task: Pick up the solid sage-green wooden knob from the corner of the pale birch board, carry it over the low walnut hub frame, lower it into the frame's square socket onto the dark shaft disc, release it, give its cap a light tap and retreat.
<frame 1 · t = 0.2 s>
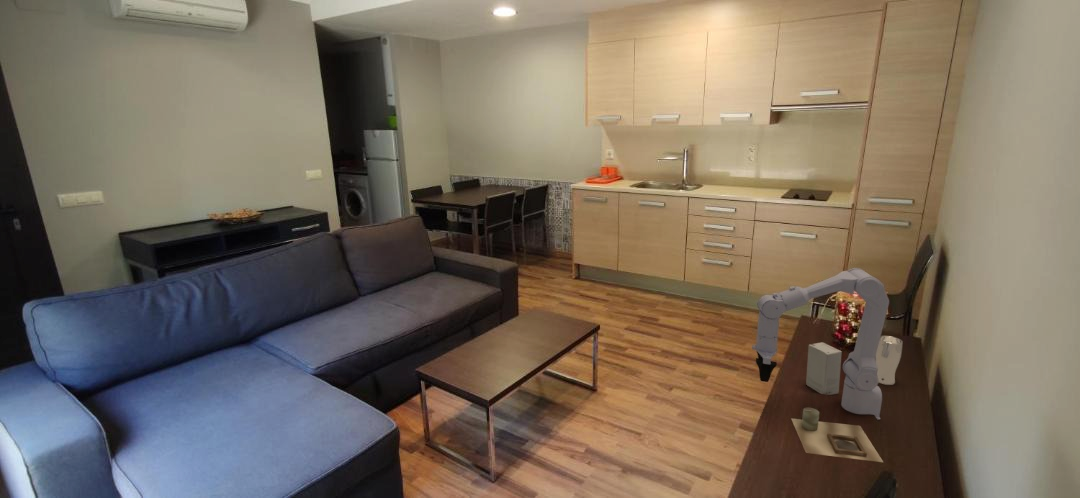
hand: (763, 375, 151), 10 cm above the table, tool pointing down, fingers open, 7 cm apart
skincare box: (820, 389, 161), on the table
board: (833, 442, 134), on the table
beer glass: (883, 381, 165), on the table
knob: (809, 426, 139), point 1 cm above the table, touching board
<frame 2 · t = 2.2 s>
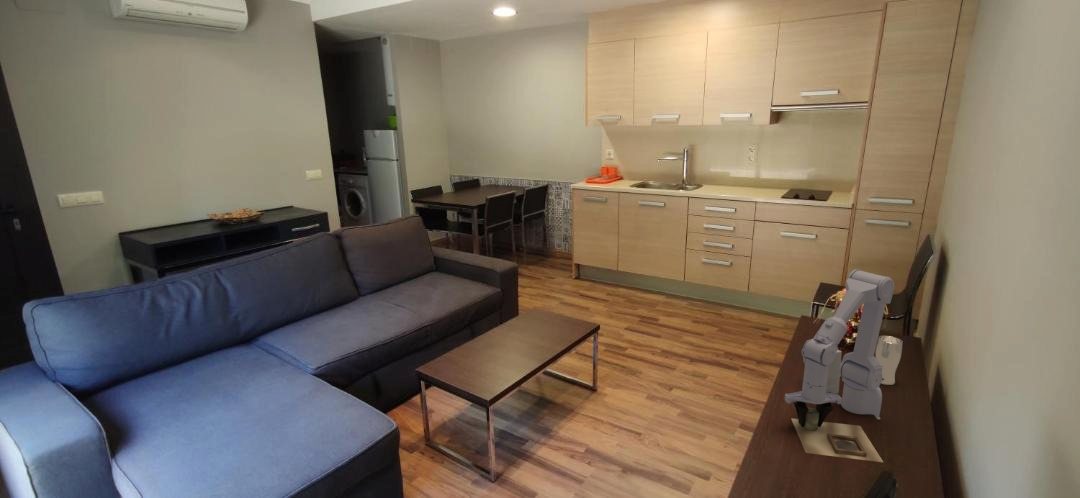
hand: (809, 424, 139), 2 cm above the table, tool pointing down, fingers closed on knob, 4 cm apart
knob: (809, 426, 139), point 1 cm above the table, touching board, gripper
everything else where it was.
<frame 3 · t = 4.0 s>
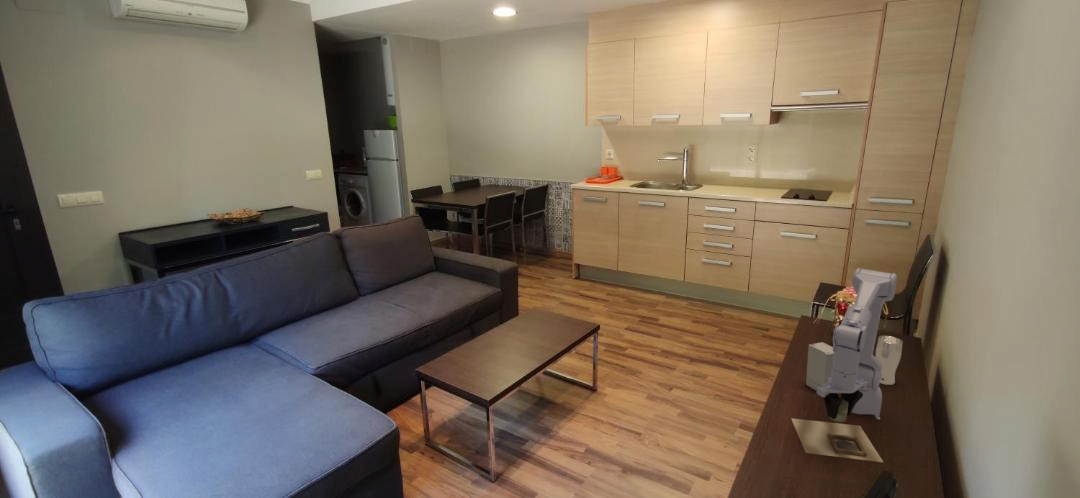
hand: (838, 415, 131), 9 cm above the table, tool pointing down, fingers closed on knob, 4 cm apart
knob: (837, 418, 131), point 8 cm above the table, touching gripper
everything else where it was.
when the fingers open (3 cm above the table, at t = 5.7 s): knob stays where it is, resting on board.
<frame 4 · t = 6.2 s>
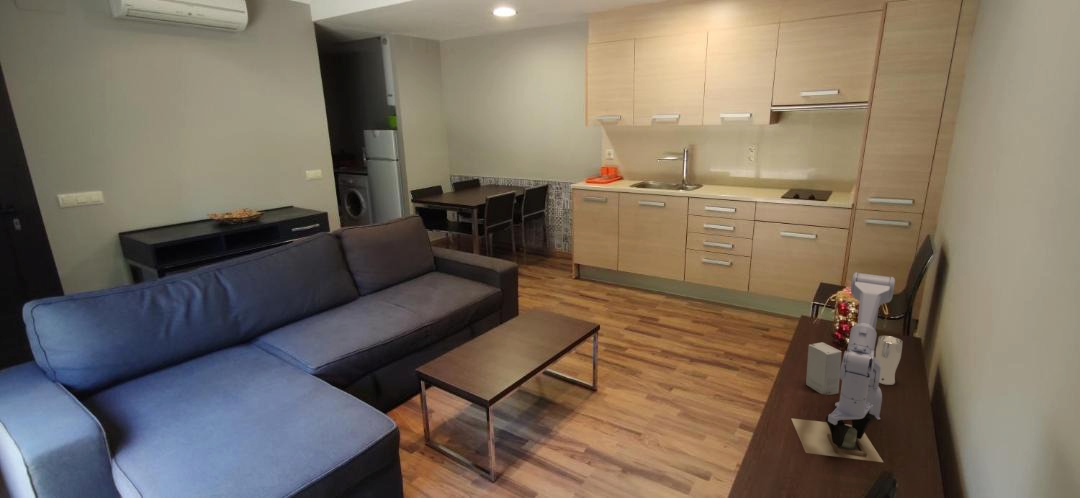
hand: (846, 440, 130), 3 cm above the table, tool pointing down, fingers open, 7 cm apart
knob: (845, 446, 130), point 1 cm above the table, touching board
everything else where it was.
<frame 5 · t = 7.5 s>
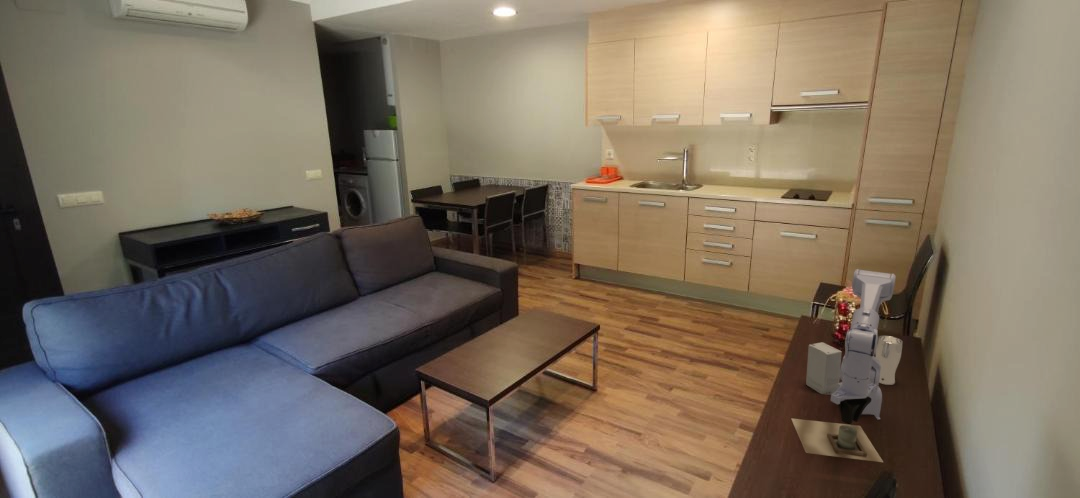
hand: (849, 421, 129), 9 cm above the table, tool pointing down, fingers closed
nothing on the table moved.
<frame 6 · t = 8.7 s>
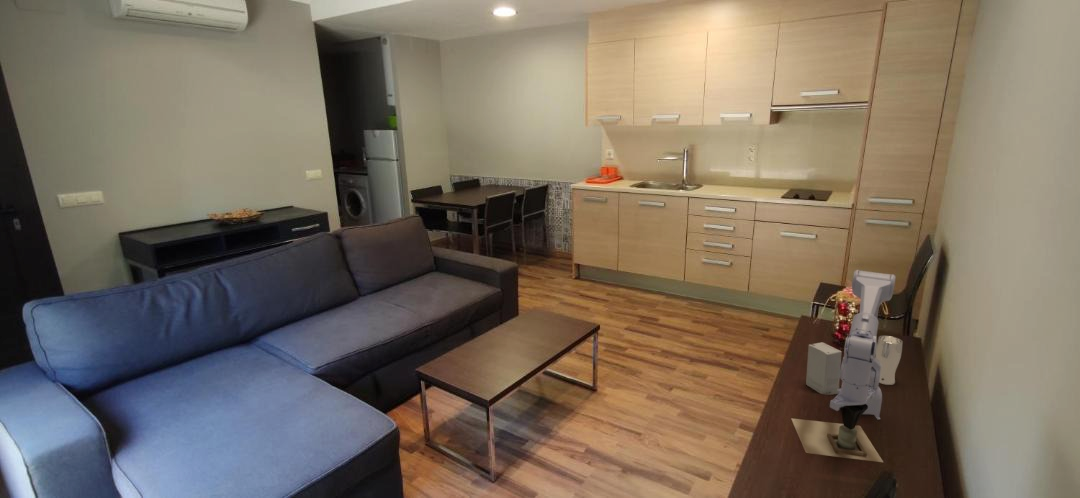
hand: (848, 427, 129), 7 cm above the table, tool pointing down, fingers closed
nothing on the table moved.
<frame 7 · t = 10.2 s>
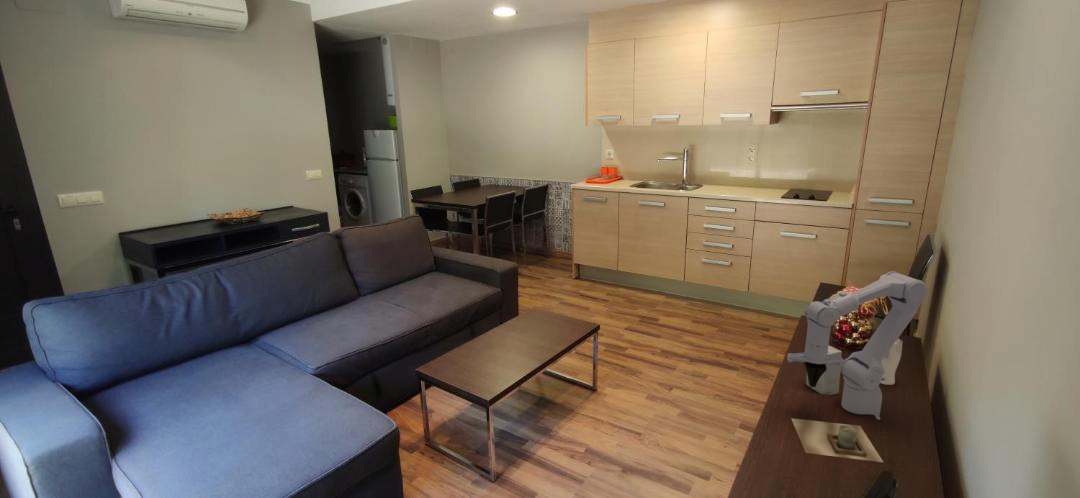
hand: (812, 385, 145), 10 cm above the table, tool pointing down, fingers closed
nothing on the table moved.
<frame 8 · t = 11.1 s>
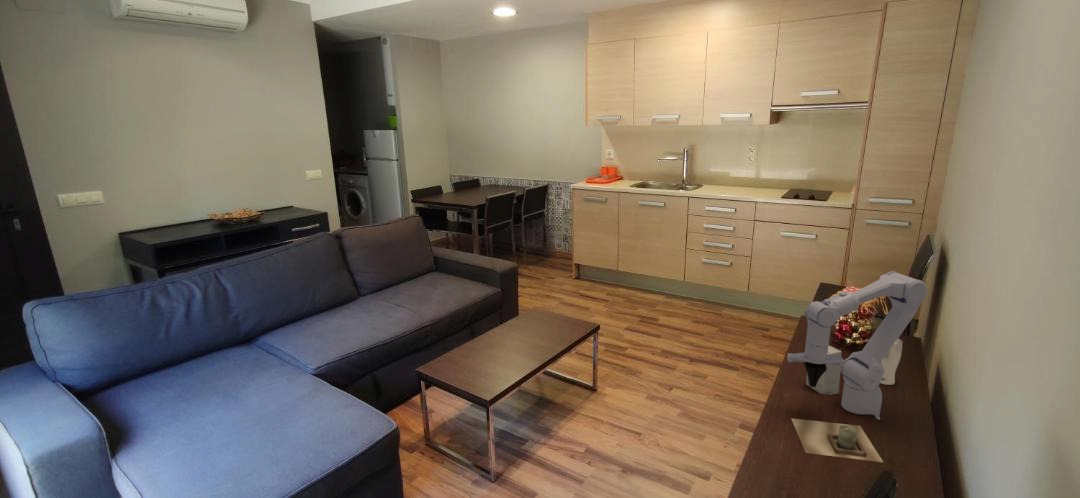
hand: (812, 385, 145), 10 cm above the table, tool pointing down, fingers closed
nothing on the table moved.
at the end: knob 0.1 cm from the target spot on the board, point 1.3 cm above the board's base; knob tilted 0°; the gripper is holding nothing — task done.
